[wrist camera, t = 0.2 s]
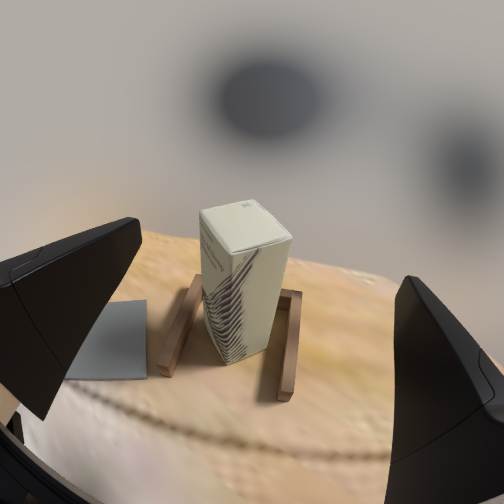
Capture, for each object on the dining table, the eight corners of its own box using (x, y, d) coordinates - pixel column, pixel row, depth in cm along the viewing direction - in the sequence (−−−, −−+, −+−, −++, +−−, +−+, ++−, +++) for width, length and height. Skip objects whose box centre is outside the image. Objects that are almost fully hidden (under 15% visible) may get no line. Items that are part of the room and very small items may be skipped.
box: (203, 325, 26) (194, 207, 18) (243, 311, 28) (252, 195, 20) (227, 369, 23) (228, 253, 15) (271, 350, 25) (296, 234, 16)
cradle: (288, 401, 21) (293, 392, 19) (160, 374, 22) (156, 363, 20) (298, 304, 29) (302, 291, 28) (197, 287, 30) (195, 273, 29)
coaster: (147, 379, 21) (146, 377, 21) (59, 379, 19) (57, 377, 19) (147, 302, 28) (146, 299, 28) (72, 307, 26) (71, 304, 26)
